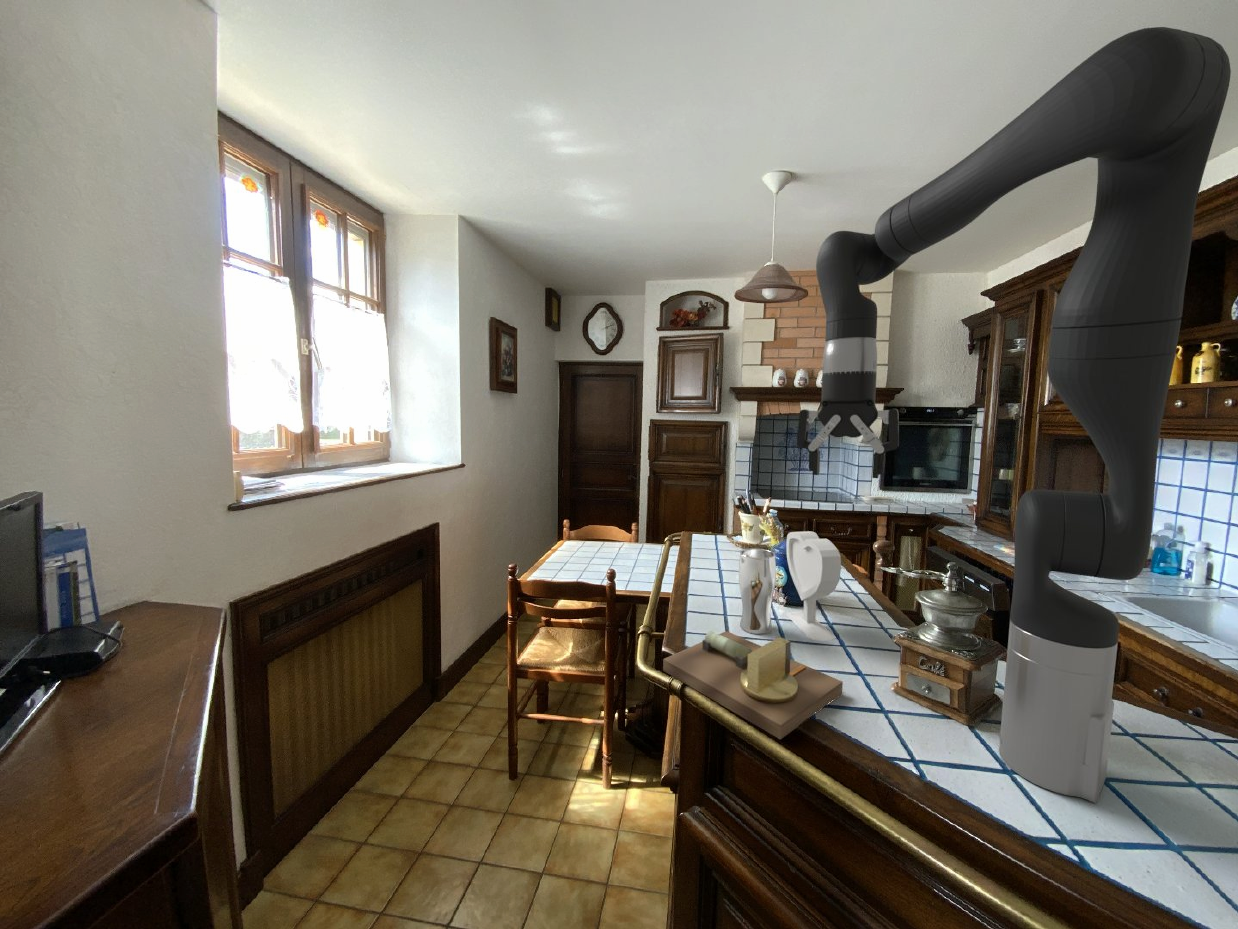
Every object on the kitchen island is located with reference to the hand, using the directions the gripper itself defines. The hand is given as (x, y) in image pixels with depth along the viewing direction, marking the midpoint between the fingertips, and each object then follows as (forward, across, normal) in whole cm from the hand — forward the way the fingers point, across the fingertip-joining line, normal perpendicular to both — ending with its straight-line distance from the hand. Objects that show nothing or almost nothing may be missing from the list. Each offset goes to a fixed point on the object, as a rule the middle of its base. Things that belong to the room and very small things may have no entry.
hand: (844, 476), depth 77 cm
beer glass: (+32, +16, -9) cm, 37 cm away
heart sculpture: (+32, +7, -15) cm, 37 cm away
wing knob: (+30, +7, +14) cm, 34 cm away
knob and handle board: (+32, +11, +11) cm, 36 cm away
